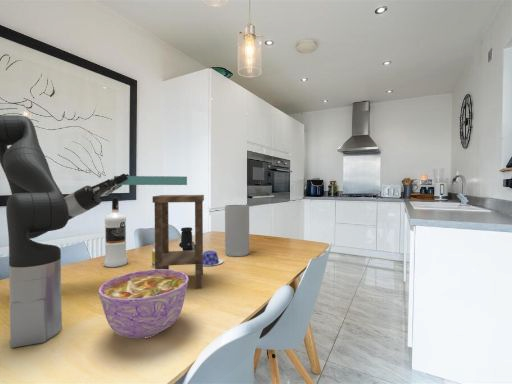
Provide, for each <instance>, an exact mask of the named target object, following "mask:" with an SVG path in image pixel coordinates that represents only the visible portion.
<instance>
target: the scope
mask: <svg viewBox="0 0 512 384" xmlns="http://www.w3.org/2000/svg"><path fill="white" fill-rule="evenodd" d="M180 231H181V234H180V235H181V237H180V238H181V239H180V243H179V244H178V246H179V248H181V249H182V251H191V250H195V241H193V232H192V231H193V228H192V227H190V226H189V227H187V226H186V227H181V228H180Z"/></svg>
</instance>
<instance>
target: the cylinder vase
mask: <svg viewBox="0 0 512 384" xmlns="http://www.w3.org/2000/svg"><path fill="white" fill-rule="evenodd" d="M224 253H225V255H226V256H229V257H234V258H235V257H245V256H247V255H249V254H250V205H249V204H248V205H247V204H227V205H224Z"/></svg>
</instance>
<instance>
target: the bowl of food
mask: <svg viewBox="0 0 512 384" xmlns="http://www.w3.org/2000/svg"><path fill="white" fill-rule="evenodd" d="M189 280H190V278H189V277H188V274H186V273H184V272H183V271H179V270H174V269H169V270H166V269H156V270H155V269H147V270H138V271H133V272H129V273H128V272H127V273H125V274H121V275H119V276H116V277H113V278H111V279H109V280H106V281H105V282H104V283H103V284H101V285H100V286H99V289H98V296H99V299H100V302H101V305H102V310H103V312H104V313H103V314H104V316H105V318H106V322H107V323H108V326H109V327H110V328H111V330H112V331H113V332H114V333H116V334H117V335H118V336H119V335H120V336H121V337H125V338H127V337H128V338H133V339H137V338H142V339H146V338H145V337H148V338H151V337H150V336H152V337H154V336H157V335H158V334H160V333H161V332H162V331H163V332H164V331H165V330H167V328H170V327H171V326H172V325H174V323H175V322H176V321H177V320H178V318H179V317H180V314H181V312H182V309H183V307H184V306H183V305H184V302H185V298H186V293H187V289H188V285H189ZM159 332H160V333H159ZM156 334H157V335H156ZM153 335H154V336H153Z"/></svg>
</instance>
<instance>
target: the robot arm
mask: <svg viewBox="0 0 512 384" xmlns="http://www.w3.org/2000/svg"><path fill="white" fill-rule="evenodd" d="M0 166H1V168H2V171H3V172H4V175H5V177H6V179H7V182H8V185H9V189H10V193H11V194H10V195H9V197H8V198H7V200H6V207H5V211H6V212H5V213H6V225H7V234H8V271H9V272H8V273H9V274H8V276H9V279H8V280H9V281H8V282H9V283H8V285H9V286H8V287H9V325H10V326H9V327H10V328H9V330H10V336H9V337H10V348H11V349H12V348H17V347H18V348H20V347H24V346H31V345H37V344H43V343H46V342H47V341H48V340H49V339H51V338H54V337H55V336H56V335H57V334H59V333H60V332H61V331H62V328H63V319H62V318H63V317H62V316H63V314H62V313H63V312H62V311H63V310H62V308H63V307H62V251H61V248H60V246H57V245H55V244H54V245H53V244H48V243H41V242H37V241H34V240H32V239H36V238H38V237H40V236H42V235H44V234H47V233H48V232H52V231H57V230H62V229H63V228H65V227H66V225H67V224H68V222H69V221H70V220H72V219H74V218H76V217H78V216H80V215H83V214H84V213H87V212H88V211H90V210H91V209H93V208H95V207H97V206H99V205H100V204H101V203H102V199H101V197H106V196H109V194H112V193H114V192H115V191H117V190H118V189H119V188H121V187H123V185H117V184H120V183H122V182H123V181H125V180H127V179H128V178H127V176H130V175H129V173H122V174H120V175H117V176H118V177H116V178H114V177H112V178H111V179H110V178H109V179H107V180H105V181H102V182H100V183H97V184H95V185H92V186H91V185H85V186H83V187H81V188H80V189H79V188H78V189H77V190H75V191H73V192H71V193H70V194H68V195H66V196H64V194H63V193H62V191H61V189H60V188H59V186H58V184H57V183H56V181H55V180H54V177H53V175H52V171H51V169H50V166H49V162H48V160H47V158H46V156H45V153H44V152H43V150H42V147H41V145H40V142H39V139H38V134H37V131H36V128H35V124H34V123H33V121H32V120H31V119H30V118H29V117H28V116H26V115H21V114H20V115H17V114H16V115H15V114H13V115H12V114H11V115H9V114H8V115H4V114H3V115H1V114H0Z"/></svg>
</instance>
